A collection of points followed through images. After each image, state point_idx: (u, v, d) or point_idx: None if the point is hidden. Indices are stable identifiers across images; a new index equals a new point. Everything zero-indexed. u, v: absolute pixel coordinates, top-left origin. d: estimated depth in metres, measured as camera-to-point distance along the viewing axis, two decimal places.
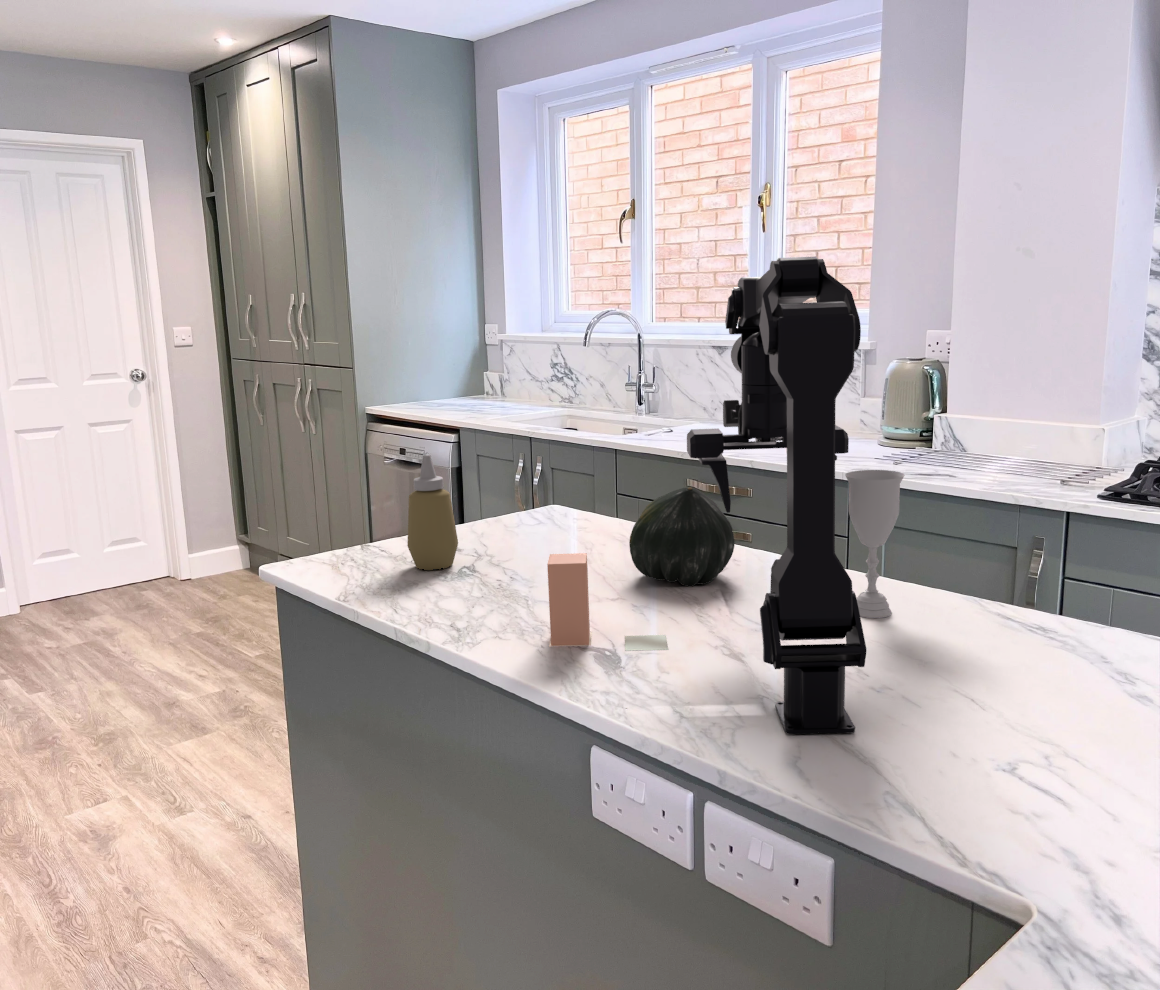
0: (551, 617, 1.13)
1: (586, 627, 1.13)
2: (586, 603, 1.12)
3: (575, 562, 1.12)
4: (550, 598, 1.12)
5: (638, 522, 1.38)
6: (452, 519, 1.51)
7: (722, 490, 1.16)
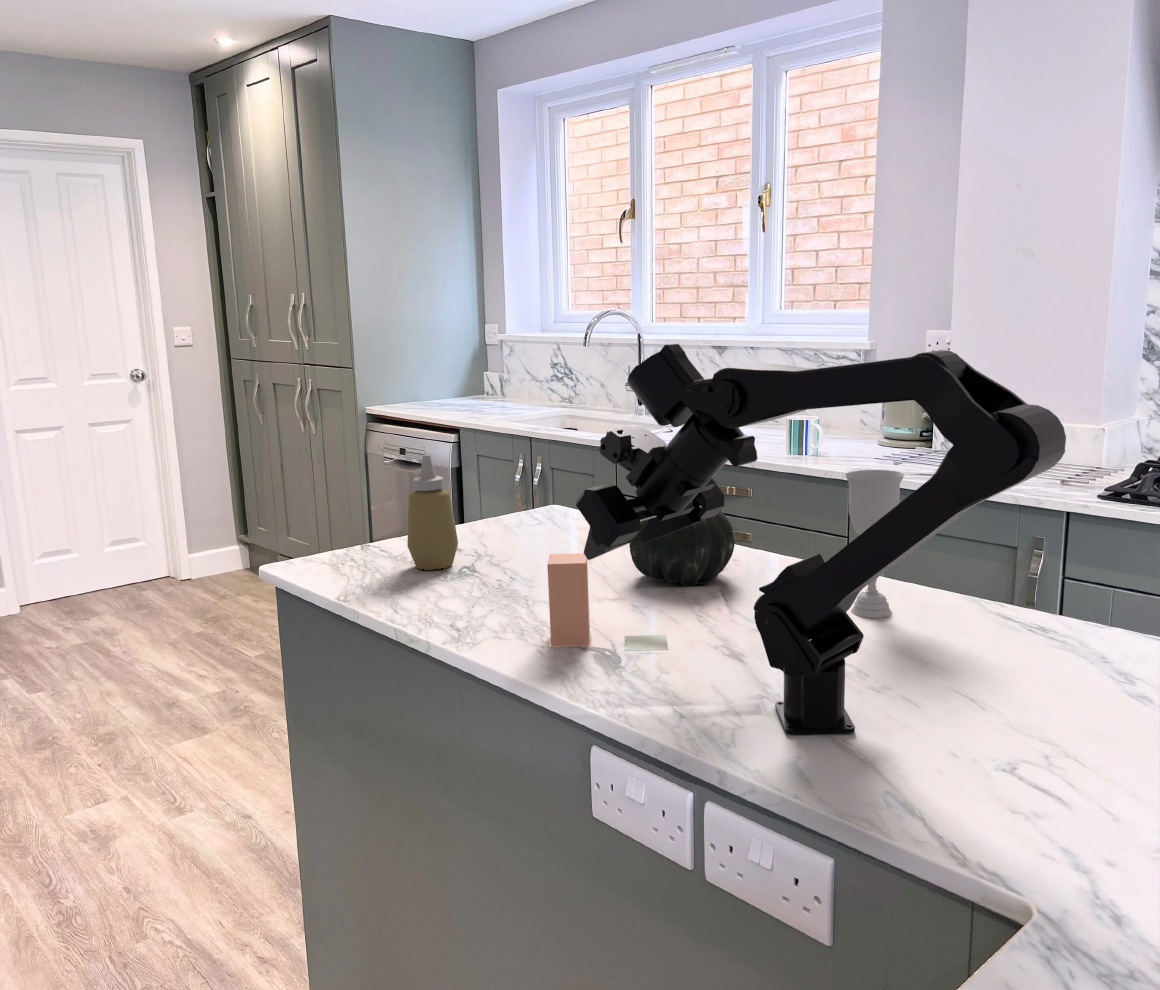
0: (551, 617, 1.13)
1: (586, 627, 1.13)
2: (586, 603, 1.12)
3: (575, 562, 1.12)
4: (550, 598, 1.12)
5: None
6: (452, 519, 1.51)
7: (603, 553, 1.01)
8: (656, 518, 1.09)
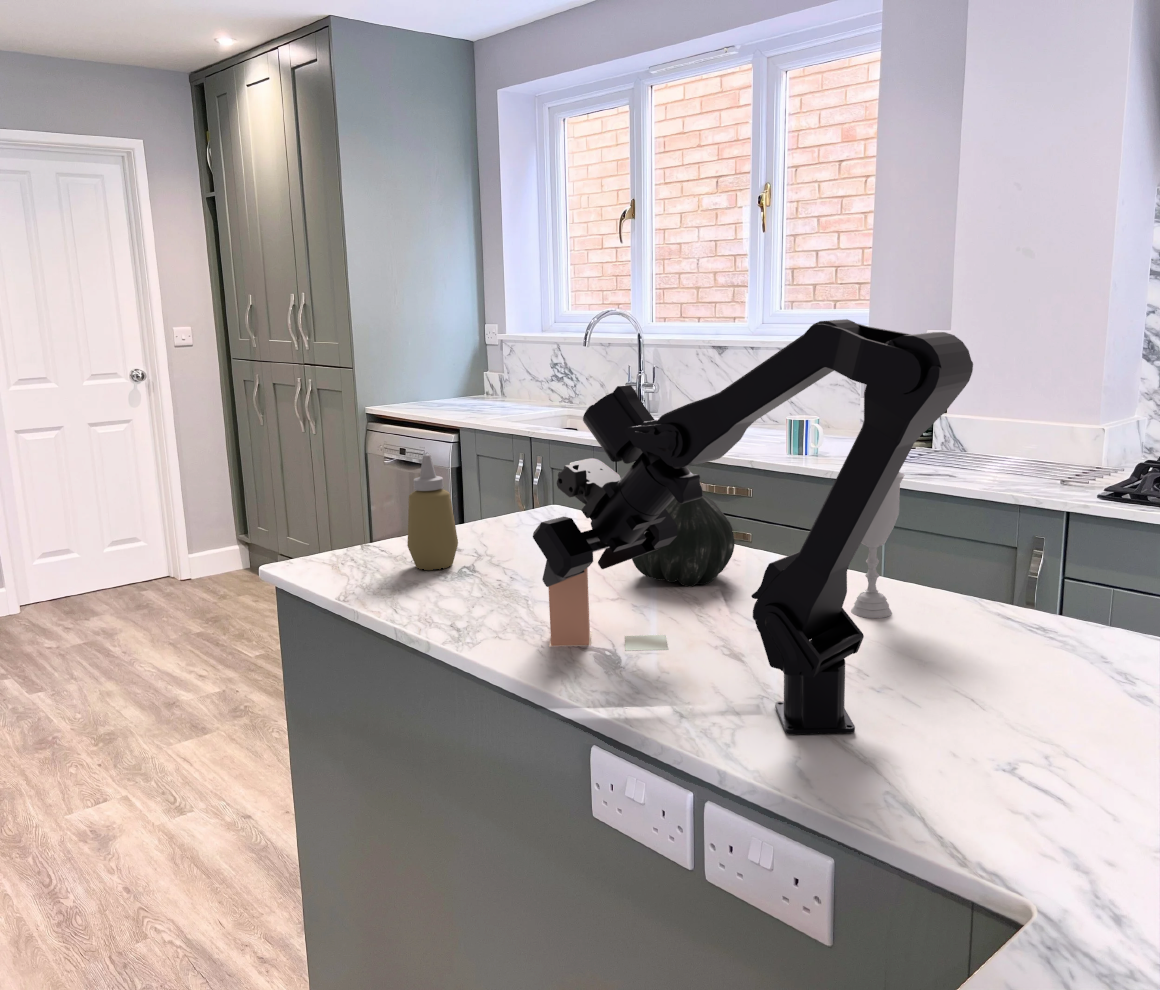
0: (551, 617, 1.13)
1: (586, 627, 1.13)
2: (586, 603, 1.12)
3: None
4: (550, 598, 1.12)
5: None
6: (452, 519, 1.51)
7: (559, 581, 1.07)
8: None
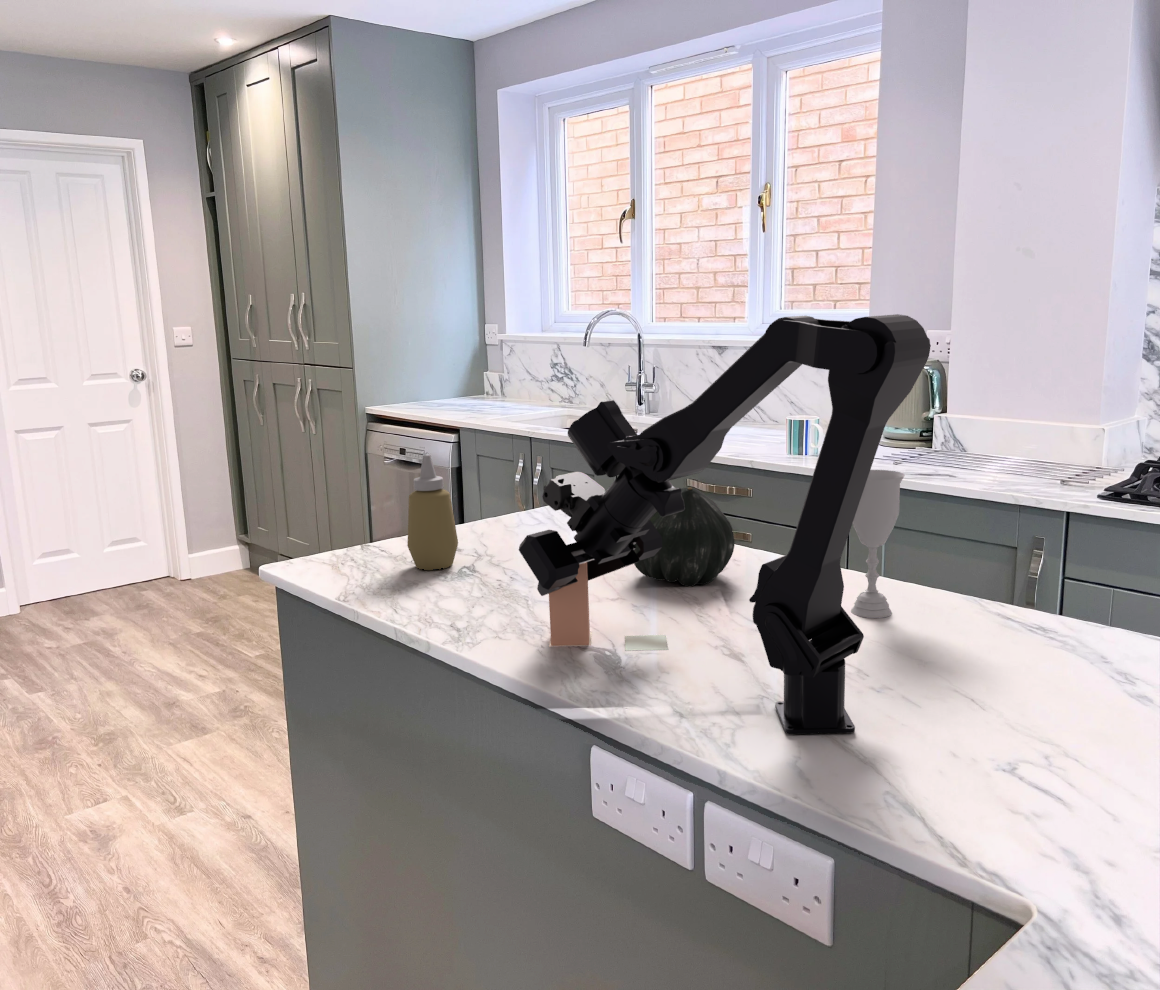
0: (551, 617, 1.13)
1: (586, 627, 1.13)
2: (586, 603, 1.12)
3: None
4: (550, 598, 1.12)
5: None
6: (452, 519, 1.51)
7: (553, 591, 1.10)
8: (592, 560, 1.16)
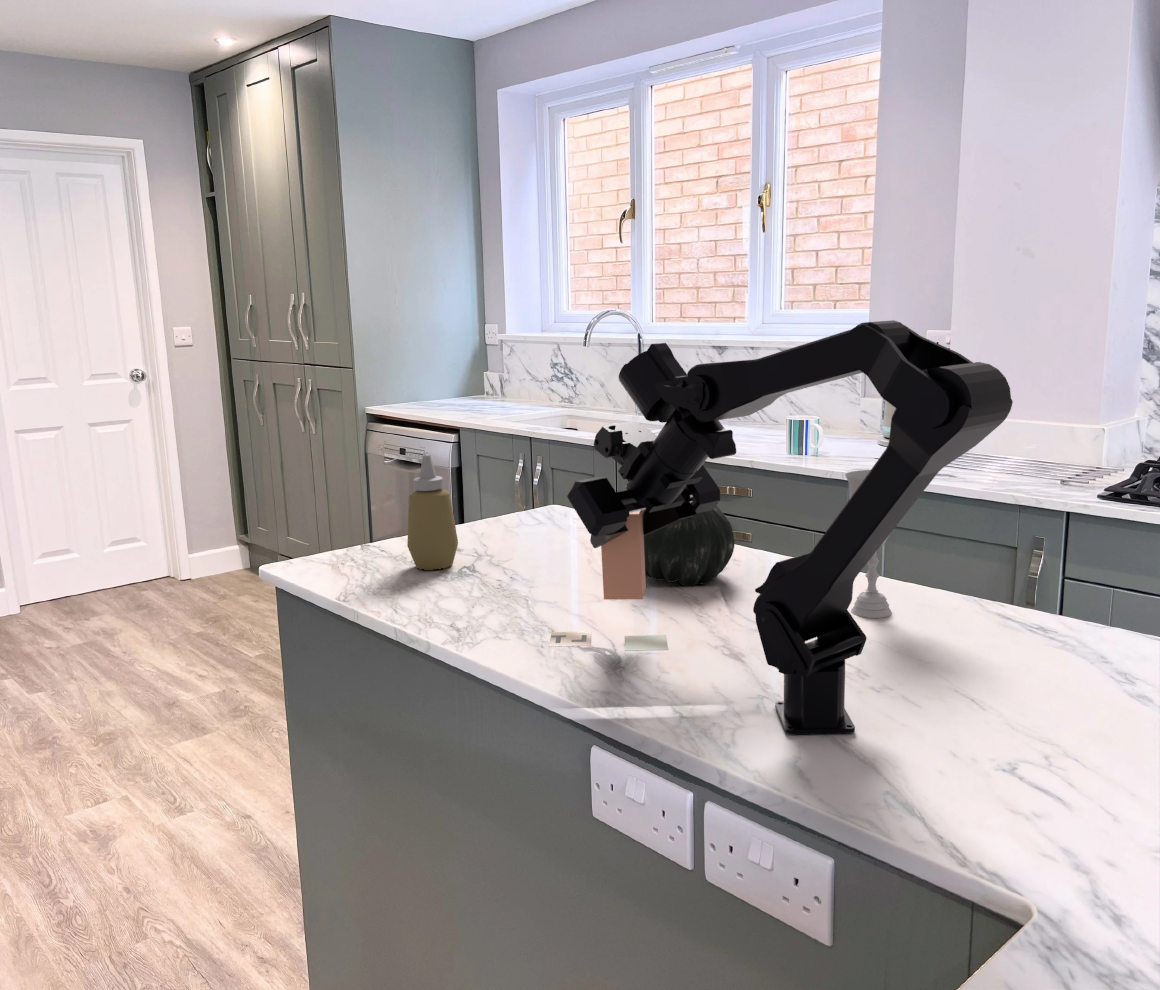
0: (604, 570, 1.10)
1: (639, 581, 1.10)
2: (639, 556, 1.09)
3: None
4: (602, 550, 1.10)
5: None
6: (452, 519, 1.51)
7: (605, 541, 1.07)
8: (648, 513, 1.12)
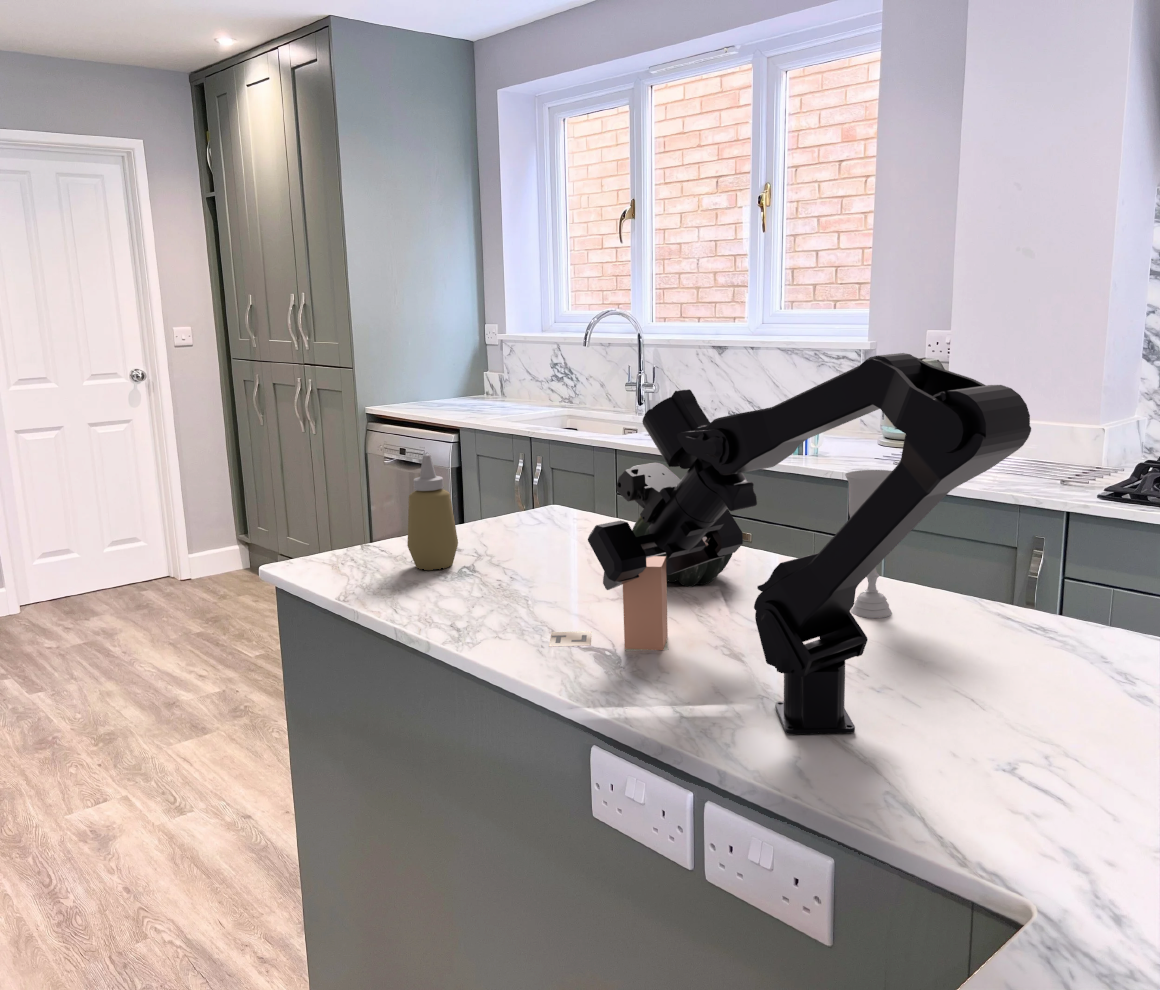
0: (625, 620, 1.11)
1: (660, 632, 1.10)
2: (661, 608, 1.10)
3: (650, 565, 1.09)
4: (624, 601, 1.10)
5: (638, 522, 1.38)
6: (452, 519, 1.51)
7: (616, 585, 1.07)
8: None
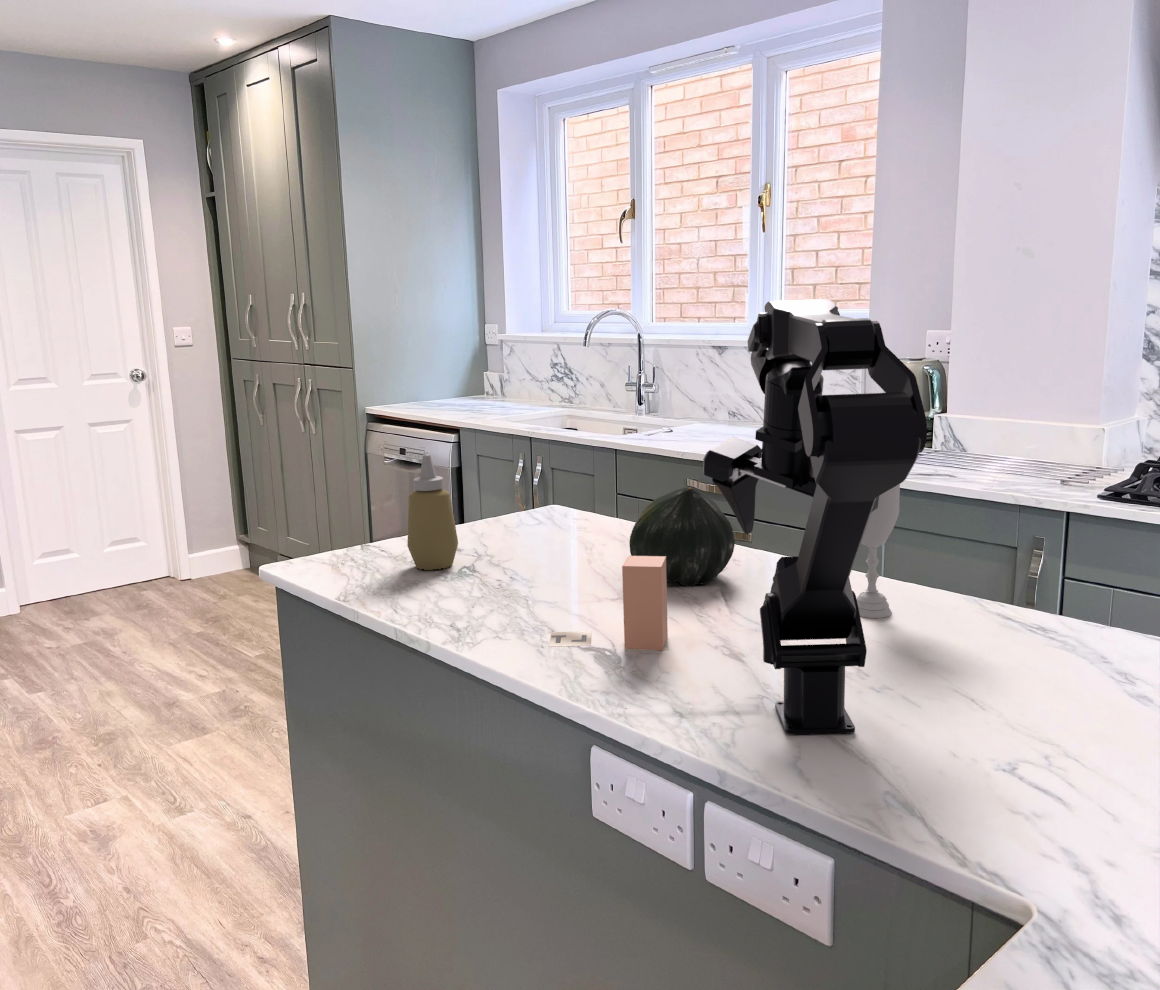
0: (625, 620, 1.11)
1: (660, 632, 1.10)
2: (661, 608, 1.10)
3: (650, 565, 1.09)
4: (624, 601, 1.10)
5: (638, 522, 1.38)
6: (452, 519, 1.51)
7: (734, 512, 1.07)
8: None
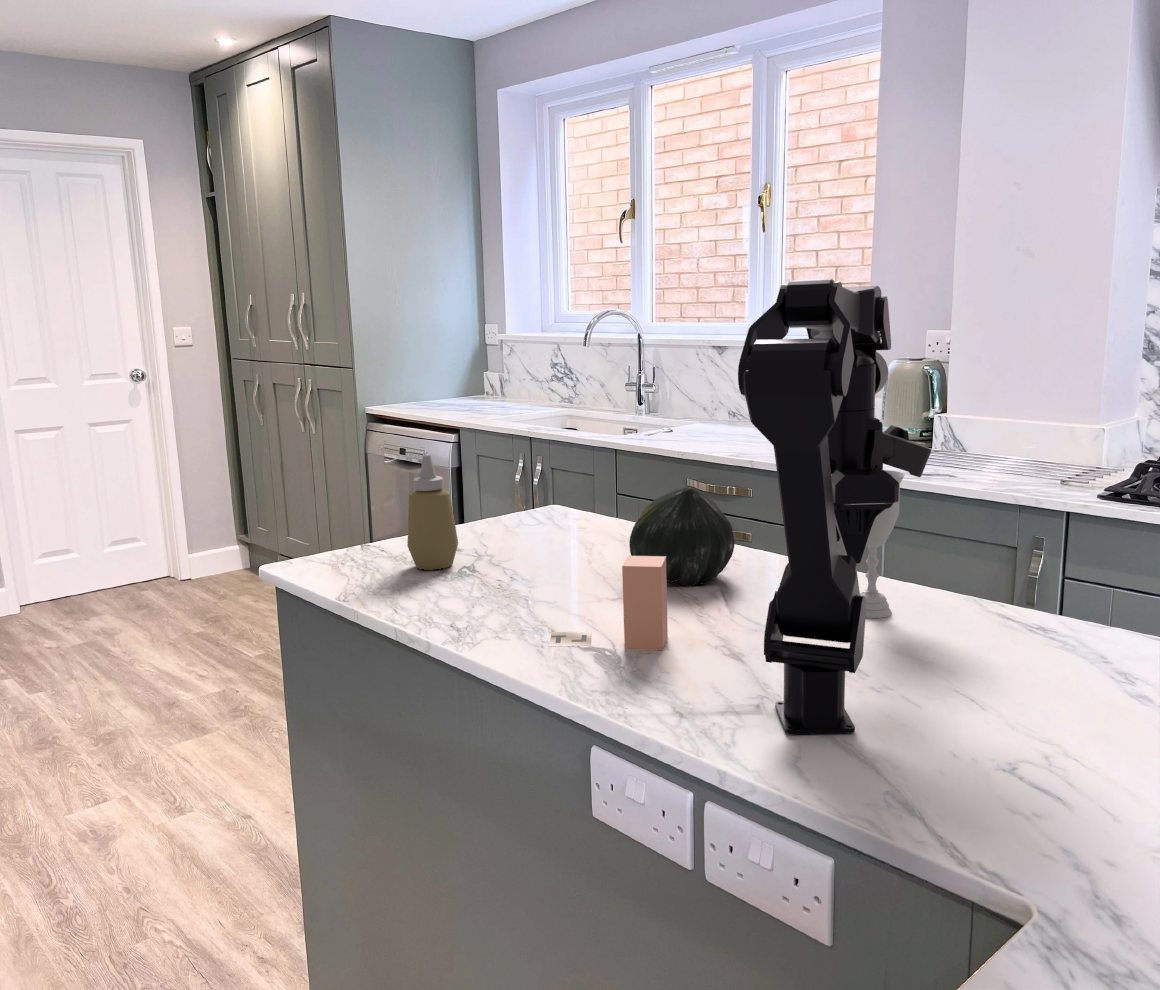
0: (625, 620, 1.11)
1: (660, 632, 1.10)
2: (661, 608, 1.10)
3: (650, 565, 1.09)
4: (624, 601, 1.10)
5: (638, 522, 1.38)
6: (452, 519, 1.51)
7: None
8: None
